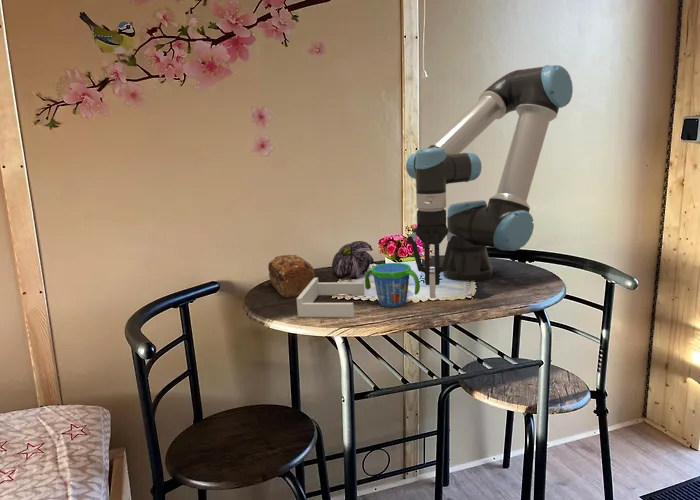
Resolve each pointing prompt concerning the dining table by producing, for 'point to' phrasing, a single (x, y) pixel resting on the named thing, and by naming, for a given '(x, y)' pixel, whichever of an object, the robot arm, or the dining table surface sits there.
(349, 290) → the fence
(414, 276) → the snack cup
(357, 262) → the decorative flower
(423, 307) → the dining table surface
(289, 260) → the bread
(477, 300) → the dining table surface
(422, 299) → the dining table surface
